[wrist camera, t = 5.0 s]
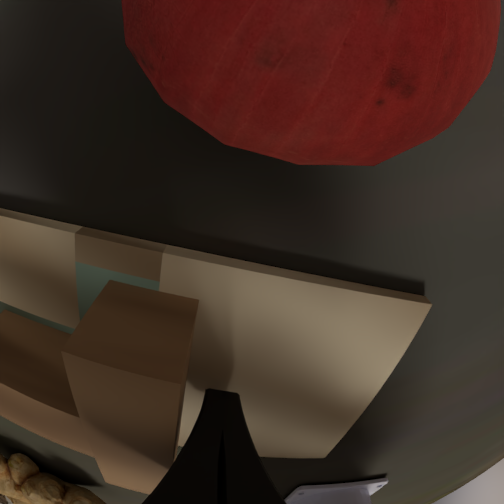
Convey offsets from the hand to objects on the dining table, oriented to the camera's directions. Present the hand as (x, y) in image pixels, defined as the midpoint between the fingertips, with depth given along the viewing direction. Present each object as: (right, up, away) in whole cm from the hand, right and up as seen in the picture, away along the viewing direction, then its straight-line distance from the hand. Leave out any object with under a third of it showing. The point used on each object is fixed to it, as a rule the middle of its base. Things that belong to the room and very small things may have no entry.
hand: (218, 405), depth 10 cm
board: (-3, +1, +1) cm, 3 cm away
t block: (-6, +1, 0) cm, 6 cm away
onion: (+2, +11, -3) cm, 12 cm away
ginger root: (-21, -18, +10) cm, 29 cm away
